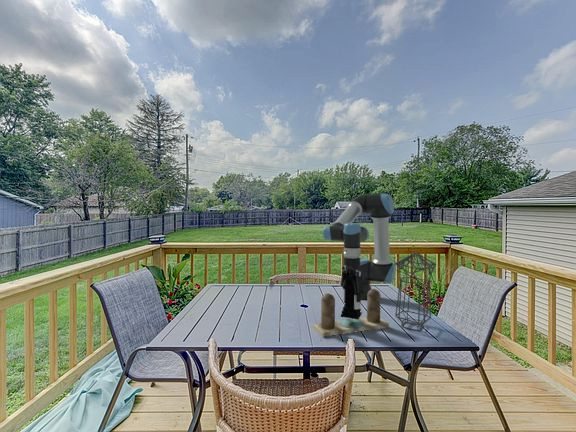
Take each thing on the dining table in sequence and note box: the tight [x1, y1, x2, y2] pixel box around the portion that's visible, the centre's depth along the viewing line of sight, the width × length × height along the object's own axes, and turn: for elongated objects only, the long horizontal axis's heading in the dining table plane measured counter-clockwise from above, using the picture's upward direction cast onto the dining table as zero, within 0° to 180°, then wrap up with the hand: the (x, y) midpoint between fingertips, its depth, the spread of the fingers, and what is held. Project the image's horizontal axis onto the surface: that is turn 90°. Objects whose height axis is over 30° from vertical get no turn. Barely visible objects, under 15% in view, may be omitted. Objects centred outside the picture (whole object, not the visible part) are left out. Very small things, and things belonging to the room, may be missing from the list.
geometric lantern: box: [393, 251, 437, 332], centre depth 141 cm, size 16×16×35 cm
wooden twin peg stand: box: [312, 288, 390, 338], centre depth 139 cm, size 34×11×17 cm, turn 109°
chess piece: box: [340, 270, 363, 319], centre depth 139 cm, size 8×8×20 cm
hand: (351, 305), depth 139 cm, fingers closed on chess piece, 9 cm apart
